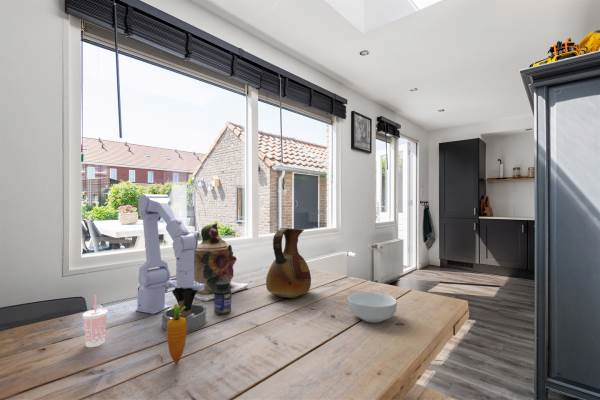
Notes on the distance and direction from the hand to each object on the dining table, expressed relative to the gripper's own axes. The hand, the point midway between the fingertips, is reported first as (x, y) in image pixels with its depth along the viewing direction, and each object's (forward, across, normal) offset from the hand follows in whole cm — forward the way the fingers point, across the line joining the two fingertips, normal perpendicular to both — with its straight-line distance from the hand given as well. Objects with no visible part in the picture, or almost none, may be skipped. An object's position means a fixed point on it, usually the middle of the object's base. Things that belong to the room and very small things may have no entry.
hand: (185, 309), depth 102 cm
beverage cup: (+5, -14, -21) cm, 26 cm away
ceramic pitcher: (+5, +21, +41) cm, 46 cm away
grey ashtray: (+4, 0, 0) cm, 4 cm away
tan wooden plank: (+4, 0, 0) cm, 4 cm away
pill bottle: (+5, +6, +13) cm, 15 cm away
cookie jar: (+5, -15, +35) cm, 38 cm away
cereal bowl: (+5, +59, +27) cm, 65 cm away
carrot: (+5, +16, -21) cm, 27 cm away
